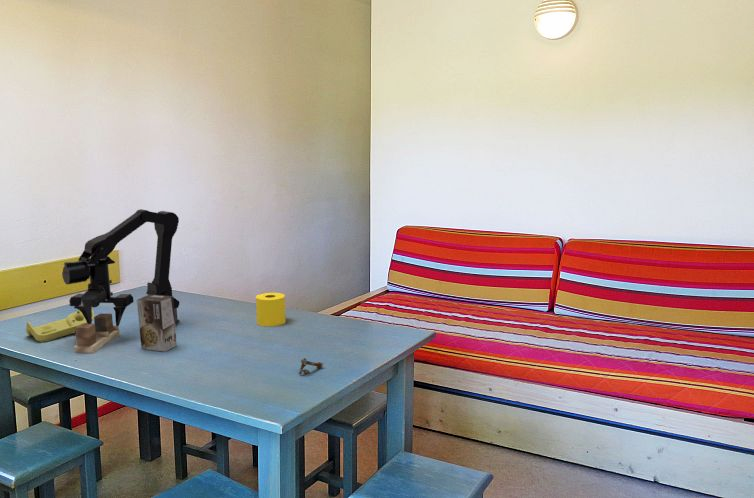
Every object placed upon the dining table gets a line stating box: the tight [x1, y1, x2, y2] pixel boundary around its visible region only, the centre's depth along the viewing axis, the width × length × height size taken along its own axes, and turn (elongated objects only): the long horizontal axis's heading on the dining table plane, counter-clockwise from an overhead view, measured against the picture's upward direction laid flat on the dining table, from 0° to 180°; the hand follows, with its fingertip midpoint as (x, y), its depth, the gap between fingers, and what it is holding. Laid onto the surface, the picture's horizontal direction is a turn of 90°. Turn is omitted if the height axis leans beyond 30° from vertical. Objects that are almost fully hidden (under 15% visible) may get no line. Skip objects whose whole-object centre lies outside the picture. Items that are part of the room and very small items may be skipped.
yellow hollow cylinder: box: [255, 292, 286, 327], centre depth 221 cm, size 10×10×9 cm
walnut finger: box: [93, 313, 114, 334], centre depth 203 cm, size 4×5×6 cm
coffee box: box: [136, 294, 178, 352], centre depth 195 cm, size 9×6×16 cm
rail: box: [73, 323, 121, 354], centre depth 199 cm, size 6×17×8 cm, turn 176°
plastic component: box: [25, 309, 96, 343], centre depth 211 cm, size 20×7×10 cm
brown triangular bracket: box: [298, 358, 324, 375], centre depth 175 cm, size 2×8×4 cm, turn 138°
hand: (103, 325), depth 204 cm, fingers open, 9 cm apart
